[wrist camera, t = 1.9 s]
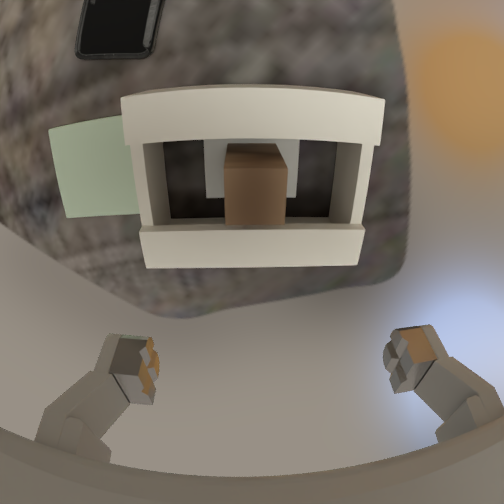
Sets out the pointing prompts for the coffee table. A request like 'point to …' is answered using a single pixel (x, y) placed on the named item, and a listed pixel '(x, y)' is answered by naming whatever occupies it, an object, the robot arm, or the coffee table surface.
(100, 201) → the sage mat
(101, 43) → the phone
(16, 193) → the coffee table surface
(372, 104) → the slotted box
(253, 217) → the walnut block
